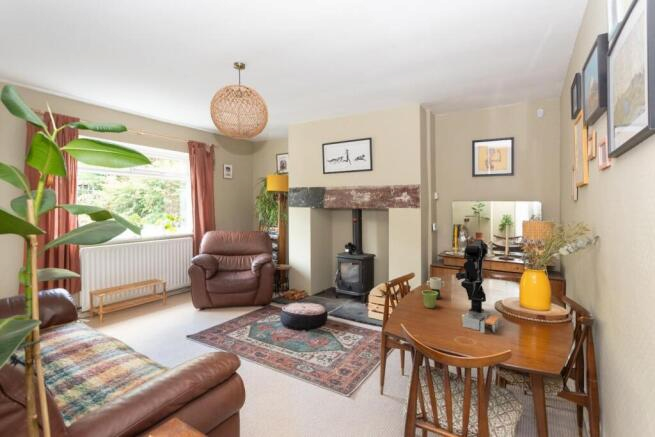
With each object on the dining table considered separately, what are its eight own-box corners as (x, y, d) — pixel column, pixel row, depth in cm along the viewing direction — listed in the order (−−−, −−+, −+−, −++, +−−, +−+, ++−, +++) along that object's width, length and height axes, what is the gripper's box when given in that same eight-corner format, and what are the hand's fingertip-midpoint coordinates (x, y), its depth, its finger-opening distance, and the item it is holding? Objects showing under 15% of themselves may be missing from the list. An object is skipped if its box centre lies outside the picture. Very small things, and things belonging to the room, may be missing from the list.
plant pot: (427, 309, 194) (427, 295, 193) (418, 304, 203) (418, 291, 202) (441, 308, 196) (441, 293, 196) (432, 303, 205) (432, 289, 205)
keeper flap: (489, 316, 170) (489, 314, 170) (499, 318, 166) (499, 316, 166) (482, 322, 161) (482, 321, 161) (493, 325, 158) (493, 323, 157)
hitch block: (470, 319, 177) (470, 309, 177) (500, 326, 168) (500, 315, 167) (461, 327, 166) (461, 317, 166) (492, 335, 157) (492, 324, 157)
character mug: (443, 297, 217) (444, 277, 217) (444, 300, 211) (444, 280, 210) (426, 295, 220) (426, 276, 220) (426, 299, 214) (426, 279, 213)
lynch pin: (464, 320, 175) (464, 312, 174) (491, 327, 166) (491, 318, 166) (461, 323, 171) (461, 315, 171) (488, 329, 163) (488, 321, 162)
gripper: (463, 263, 190) (463, 290, 191) (451, 269, 176) (451, 298, 177) (484, 266, 183) (483, 293, 184) (473, 272, 168) (472, 302, 169)
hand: (472, 296), depth 179 cm, fingers open, 9 cm apart
